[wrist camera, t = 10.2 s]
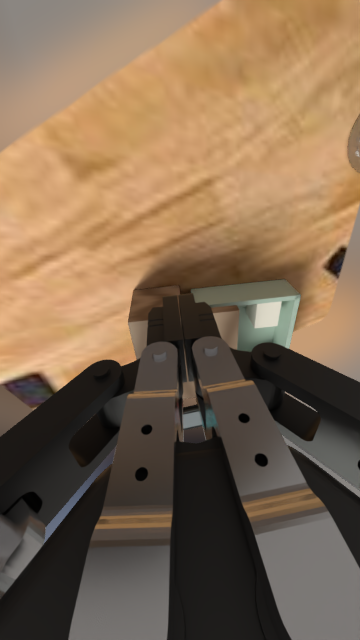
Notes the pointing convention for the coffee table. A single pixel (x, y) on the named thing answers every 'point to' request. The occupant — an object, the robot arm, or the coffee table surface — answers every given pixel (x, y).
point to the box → (256, 295)
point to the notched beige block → (154, 298)
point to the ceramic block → (264, 314)
